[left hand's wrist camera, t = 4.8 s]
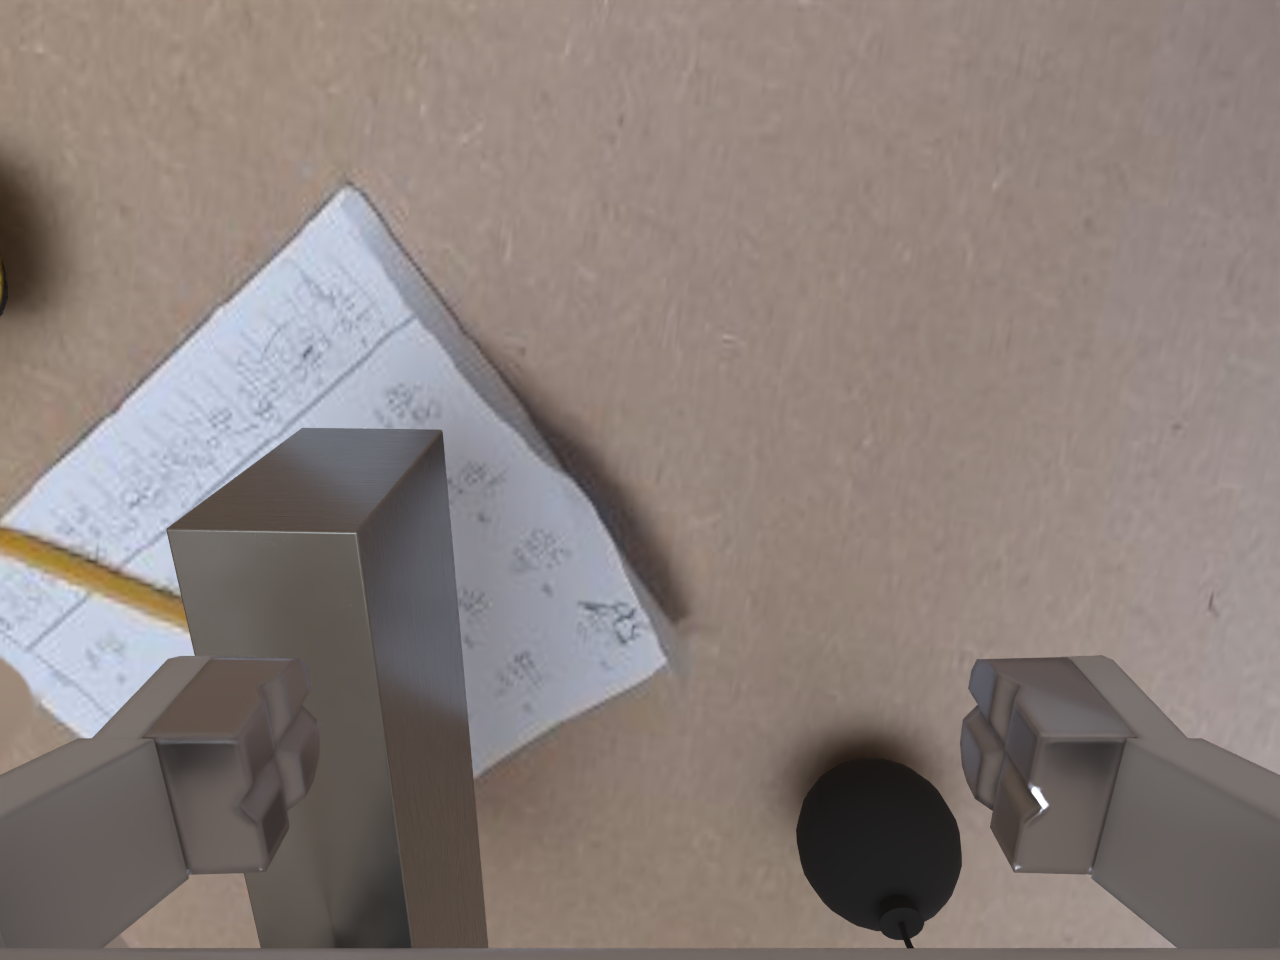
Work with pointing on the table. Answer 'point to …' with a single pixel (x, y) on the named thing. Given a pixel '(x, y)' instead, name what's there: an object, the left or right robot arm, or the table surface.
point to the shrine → (3, 287)
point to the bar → (352, 680)
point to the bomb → (879, 846)
